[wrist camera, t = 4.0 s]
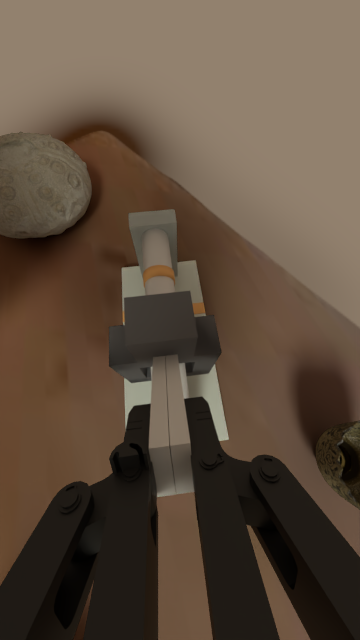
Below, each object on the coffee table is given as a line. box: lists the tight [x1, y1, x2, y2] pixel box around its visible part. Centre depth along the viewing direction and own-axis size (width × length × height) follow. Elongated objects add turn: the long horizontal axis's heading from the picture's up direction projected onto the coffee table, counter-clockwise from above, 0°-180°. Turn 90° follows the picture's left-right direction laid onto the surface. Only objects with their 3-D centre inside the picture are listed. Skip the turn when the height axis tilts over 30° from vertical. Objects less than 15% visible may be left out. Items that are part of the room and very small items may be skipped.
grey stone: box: [0, 132, 92, 238], centre depth 35 cm, size 18×18×10 cm
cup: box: [315, 421, 360, 510], centre depth 21 cm, size 8×7×8 cm
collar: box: [109, 291, 221, 383], centre depth 19 cm, size 3×8×12 cm, turn 97°
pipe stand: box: [122, 209, 229, 441], centre depth 25 cm, size 24×11×11 cm, turn 7°
